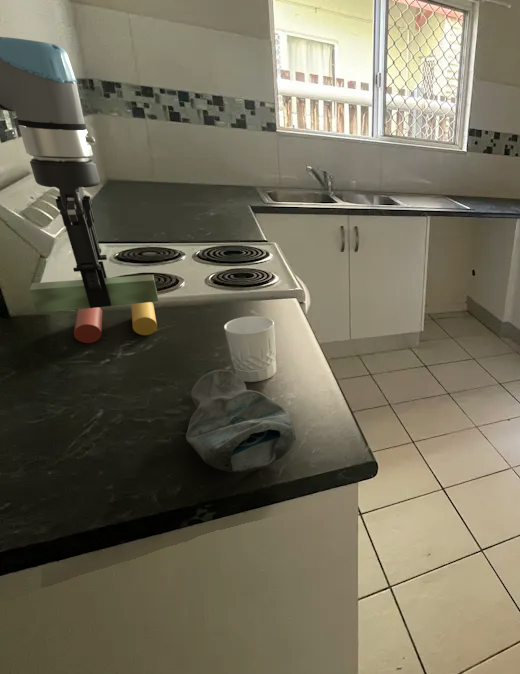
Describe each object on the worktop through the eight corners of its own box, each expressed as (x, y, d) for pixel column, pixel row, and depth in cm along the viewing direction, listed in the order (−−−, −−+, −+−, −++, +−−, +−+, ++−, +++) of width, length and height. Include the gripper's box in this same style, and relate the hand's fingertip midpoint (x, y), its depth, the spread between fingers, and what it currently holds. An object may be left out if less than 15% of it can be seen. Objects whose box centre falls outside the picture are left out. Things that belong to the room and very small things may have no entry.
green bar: (36, 313, 76) (28, 289, 74) (39, 306, 78) (32, 283, 77) (158, 301, 85) (153, 280, 83) (157, 295, 87) (153, 274, 86)
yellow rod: (158, 333, 99) (154, 315, 97) (135, 336, 97) (130, 318, 95) (155, 313, 108) (151, 297, 106) (133, 316, 105) (129, 299, 104)
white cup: (283, 378, 87) (277, 329, 83) (235, 388, 83) (226, 336, 79) (275, 360, 93) (269, 313, 89) (229, 368, 89) (221, 319, 85)
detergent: (309, 457, 68) (261, 379, 85) (301, 418, 65) (252, 345, 82) (206, 500, 61) (175, 405, 78) (191, 458, 57) (162, 368, 74)
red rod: (103, 341, 94) (98, 322, 92) (77, 344, 92) (71, 326, 90) (104, 319, 102) (99, 302, 101) (80, 322, 100) (75, 305, 98)
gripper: (91, 166, 68) (128, 316, 78) (97, 153, 80) (128, 285, 90) (19, 164, 64) (68, 323, 74) (36, 151, 76) (76, 289, 85)
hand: (101, 301), depth 82 cm, fingers closed on green bar, 3 cm apart
